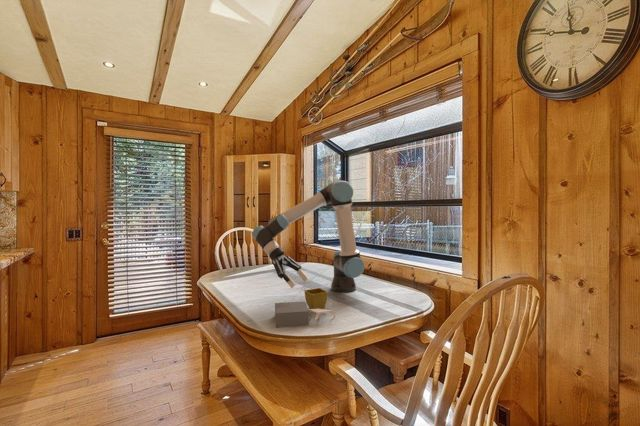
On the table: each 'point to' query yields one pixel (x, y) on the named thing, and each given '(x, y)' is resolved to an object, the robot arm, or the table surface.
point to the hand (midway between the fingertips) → (300, 283)
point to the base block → (291, 314)
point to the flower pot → (316, 298)
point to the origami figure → (320, 311)
